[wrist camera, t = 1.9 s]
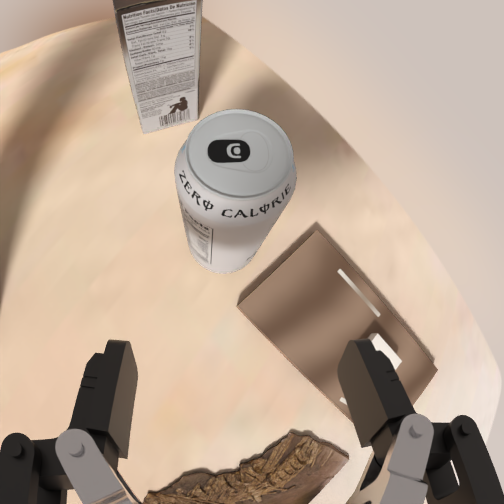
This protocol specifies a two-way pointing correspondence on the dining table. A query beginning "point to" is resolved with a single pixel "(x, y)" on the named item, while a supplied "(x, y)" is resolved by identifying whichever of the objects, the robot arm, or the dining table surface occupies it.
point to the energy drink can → (233, 186)
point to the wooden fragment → (263, 477)
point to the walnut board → (329, 319)
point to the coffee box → (161, 58)
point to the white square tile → (385, 349)
